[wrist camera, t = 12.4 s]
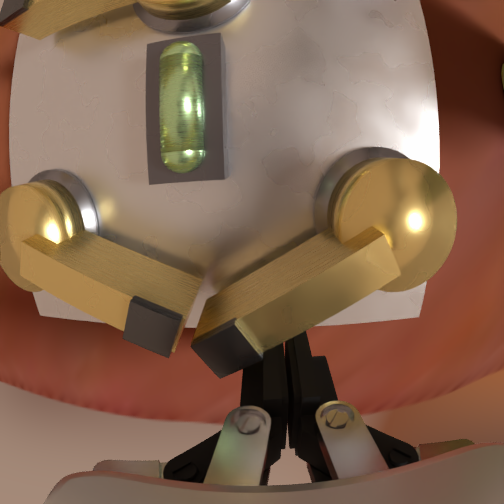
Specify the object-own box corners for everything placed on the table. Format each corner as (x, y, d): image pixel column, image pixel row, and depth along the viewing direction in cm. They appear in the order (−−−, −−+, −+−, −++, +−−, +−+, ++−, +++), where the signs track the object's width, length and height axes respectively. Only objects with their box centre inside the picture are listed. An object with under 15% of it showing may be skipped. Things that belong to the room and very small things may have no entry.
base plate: (44, 16, 9) (2, -3, 5) (393, -22, 9) (425, -58, 4) (57, 300, 15) (17, 336, 11) (403, 298, 14) (440, 342, 10)
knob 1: (15, 253, 11) (-27, 277, 8) (25, 168, 10) (-27, 178, 7) (183, 335, 12) (163, 387, 9) (215, 244, 11) (198, 281, 8)
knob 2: (401, 138, 9) (451, 135, 6) (441, 235, 10) (489, 262, 7) (184, 269, 11) (157, 311, 8) (246, 349, 12) (242, 405, 9)
